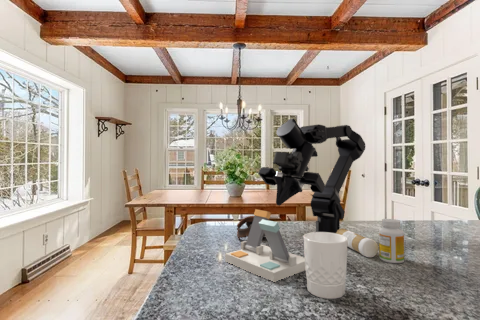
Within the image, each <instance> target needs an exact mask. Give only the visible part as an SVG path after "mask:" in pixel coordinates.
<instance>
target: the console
mask: <svg viewBox="0 0 480 320" xmlns="http://www.w3.org/2000/svg"><path fill="white" fill-rule="evenodd" d="M246 242H247V240H244V241H241V242H240V249H238V250H234V251H231V252H226V253H225V255H224V257H225V258H224V259H225V263H227V262H228V263H227V264H229V263H230V265H231V264H233V265H232V266H234V265H235V266H234V267H236V266H237V267H236V268H238V267H240V268H239V269H241V268H242V269H241V270H243V269H244V270H243V271H245V270H246V272H248V271H249V272H248V273H250V272H251V273H250V274H252V273H253V274H252V275H255V274H256V275H255V276H257V275H258V277H259V276H261V277H260V278H262V277H264V278H266V279H269V280H271V281H273V282H275V283H277V282H276V281H278V280H280V281H282V280H281V279H283V280H285V279H287V278H290V277H292V276H295V275H297V274H300V273H302V272H304V271H306V269H305V256H301V255H298V254H294V253H291V252H288V253H289V256H290V257H289V263H286V262H283V261H280V260H277V259H275V258H274V255H273V253H272V251H271V248H270V246H268V245H265V244H262V243H261V245H260V246H257V247H256V252H254V251H251V250H248V249H245V245H246ZM294 274H295V275H294ZM289 276H290V277H289ZM286 277H287V278H286ZM264 278H263V279H264ZM284 278H285V279H284ZM266 279H265V280H266ZM271 281H270V282H271ZM273 282H272V283H273ZM278 282H279V281H278Z"/></svg>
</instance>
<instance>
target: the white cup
mask: <svg viewBox="0 0 480 320" xmlns="http://www.w3.org/2000/svg"><path fill="white" fill-rule="evenodd" d="M347 242H348V239H347V237H345V236H343V235H340V234H336V233H329V232H316V231H315V232H314V231H313V232H308V233H305V234H303V252H304V258H305V269H306V270H305V275H306V276H305V277H306V286H307V288H306V289H307V291H308V292H309V293H310V294H311V295H312V296H315V297H317V298H322V299H326V300H331V299H332V300H333V299H334V300H335V299H339V298H342V297H343V296H344V295H345V294H346V278H347V265H348V247H347Z"/></svg>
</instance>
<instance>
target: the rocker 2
mask: <svg viewBox="0 0 480 320" xmlns="http://www.w3.org/2000/svg"><path fill="white" fill-rule="evenodd" d="M259 225H260V228H261V229H263V231H264V234H265V236H264V237H265V238H266V240H267V243H268V245H269V246H268V247H270V248H271V251H272V253H273V255H274V258H275V259H277V260H280V261H283V262H286V263H289V257H290V256H289V253H290V252H289V251H288V248H287V246H286V243H285V241H284V238H283V236H282V234H281V231H280V230H281V227H280V225H279V222H277V221H273V220H270V219H268V220H264V219H262V220H261V221H260V222H259Z"/></svg>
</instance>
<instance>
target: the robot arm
mask: <svg viewBox="0 0 480 320" xmlns="http://www.w3.org/2000/svg"><path fill="white" fill-rule="evenodd" d="M276 135H277V136H278V138H279V139H280V140H281V142H283V144H284V145H285V147H286V148H288V149H289V150H292V151H291V152H285V151H283V152H282V151H276V152H275V154H274V158H273V162H272V163H273V164H274V165H276V166H278V170H279V171H276V170H275V169H274V167H266V166H263V167H262V166H261V168H260V169H259V171H258V172H257V174H258V175H259V177H260V178H261V179H262V180H263V182H264V183H265V184H266V185H268V186H269V185H270V186H273V187H274V186H276V199H275V205H276V206H279V207H280V206H281V205H283V204H284V203H285V202H287V201H288V200H289V199H291V198H292V197H293V196H295V195H297V194H299V193H303V191H304V190H303V186H305V185H308V186H310V187H309V188H310V190H311V193H313V194H312V195H311V200H310V208H311V212H312V216H313V217H317V218H316V219H317V220H316V221H315V232H329V233H336V232H337V231H338V230H339V229H341V226H340V222H341V221H340V220H343V219H344V218H345V213H346V212H345V209H344V208H343V206H342V205H341V202H342V200H341V197H340V192H341V189H342V187H343V185H344V183H345V181H346V178H347V176H348V174H349V172H350V169H351V167H352V165H353V163H354V162H355V161H357V160H359V159H360V158H361V157H362V156H363V153H364V152H365V150H366V143H365V141H364V139H363V137H362V135H361V134H360V133H358V132H356V131H354V130H353V129H352V127H351V125H348V124H344V125H343V124H342V125H336V126H329V127H327V126H326V125H323V124H311V125H305V126H304V125H303V126H299V125H298V123H297V121H296V119H295V118H290V119H288V120H287V121H286V122H284V123H283V124H281V125H280V126H279V127H277V129H276ZM346 137H347V139H346ZM334 138H335V139H336V140H335V146H336V147H337V151H338V154H339V156H338V158H337V160H336V162H335V164H334V166H333V168H332V170H331V173H330V174H329V177H328V179H327V180H326V183H325V182H324V180H323V178H322V176H321V175H320V174H319V172H313V171H309V169H310V168H309V163H310V161H311V158H315V157H318V152H317V150H316V147H315V146H314V145H318V144H322V143H324V142H326V141H327V140H328V139H334ZM342 138H345V139H342ZM280 171H281V172H280Z"/></svg>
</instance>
